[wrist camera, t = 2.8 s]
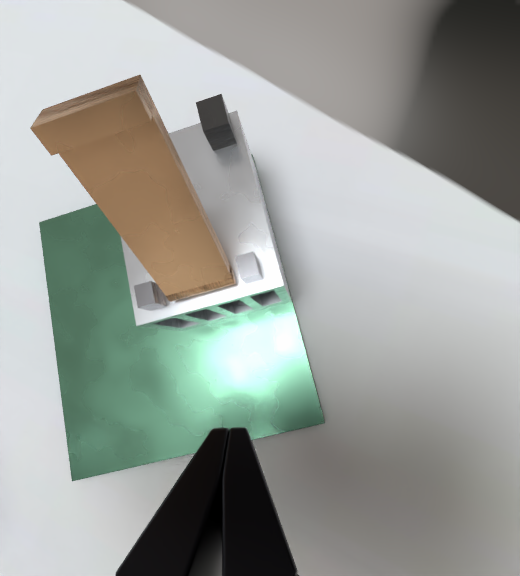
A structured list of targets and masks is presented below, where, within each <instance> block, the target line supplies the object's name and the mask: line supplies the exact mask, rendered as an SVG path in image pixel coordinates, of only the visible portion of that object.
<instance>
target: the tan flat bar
mask: <svg viewBox="0 0 520 576" xmlns="http://www.w3.org/2000/svg"><path fill="white" fill-rule="evenodd" d="M31 130H32V131H33V132H34V134H35V135H36V136H37V137H38V139H39V140H40V141H41V143H42V144H43V145H44V147H45V148H46V149H47V150H48V152H49V153H50V154H51V156H52V155H55V154H57V153H59V155H60V156H61V157H62V159H63V160H64V161H65V163H66V164H67V165H68V167H69V168H70V169H71V171H72V172H73V173H74V175H75V176H76V177H77V178H78V180H79V181H80V182H81V184H82V185H83V186H84V188H85V189H86V190H87V192H88V193H89V194H90V196H91V197H92V198H93V200H94V201H95V202H96V204H97V205H98V206H99V208H100V209H101V210H102V212H103V213H104V214H105V216H106V217H107V218H108V220H109V221H110V222H111V224H112V225H113V226H114V228H115V229H116V230H117V232H118V233H119V234H120V236H121V237H122V238H123V240H124V241H125V242H126V244H127V245H128V246H129V248H130V249H131V250H132V252H133V253H134V254H135V256H136V257H137V258H138V260H139V261H140V262H141V264H142V265H143V266H144V268H145V269H146V270H147V272H148V273H149V274H150V276H151V277H152V278H153V280H154V281H155V282H156V284H157V285H158V286H159V288H160V289H161V290H162V292H163V293H164V294H165V296H166V297H167V299H168V300H169V301H170V302H172V301H176V300H179V299H183V298H186V297H190V296H193V295H197V294H201V293H204V292H208V291H211V290H215V289H218V288H222V287H225V286H229V285H233V284H235V283H236V280H235V275H234V271H233V269H232V266H231V265H230V263H229V261H228V259H227V256H226V254H225V252H224V250H223V248H222V246H221V244H220V242H219V240H218V237H217V235H216V233H215V231H214V229H213V227H212V225H211V223H210V221H209V218H208V216H207V214H206V212H205V210H204V208H203V206H202V204H201V202H200V199H199V197H198V195H197V193H196V191H195V189H194V187H193V185H192V183H191V180H190V178H189V176H188V174H187V172H186V170H185V168H184V166H183V164H182V162H181V159H180V157H179V155H178V153H177V151H176V149H175V147H174V145H173V143H172V140H171V138H170V136H169V134H168V132H167V130H166V128H165V126H164V124H163V121H162V119H161V117H160V115H159V113H158V111H157V109H156V107H155V105H154V102H153V100H152V98H151V96H150V94H149V92H148V90H147V88H146V86H145V83H144V81H143V79H142V77H141V75H138V76H135V77H132V78H129V79H127V80H124V81H121V82H118V83H115V84H113V85H110V86H107V87H104V88H101V89H99V90H96V91H93V92H90V93H87V94H85V95H82V96H79V97H76V98H74V99H71V100H68V101H65V102H62V103H60V104H57V105H54V106H51V107H48V108H46V109H43V110H42V111H41V113H40V114H39V116H38V117H37V119H36V120H35V122H34V123H33V125H32V126H31Z"/></svg>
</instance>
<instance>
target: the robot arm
mask: <svg viewBox="0 0 520 576" xmlns="http://www.w3.org/2000/svg"><path fill="white" fill-rule="evenodd" d="M116 576H299V575H298V574H297V568H296V565H295V562H294V559H293V557H292V554H291V551H290V548H289V545H288V542H287V540H286V537H285V534H284V531H283V528H282V525H281V523H280V520H279V517H278V514H277V511H276V508H275V505H274V503H273V500H272V497H271V494H270V491H269V488H268V486H267V483H266V480H265V477H264V474H263V471H262V468H261V466H260V463H259V460H258V457H257V454H256V451H255V449H254V446H253V443H252V440H251V437H250V434H249V432H248V429H247V428H246V427H232V428H231V429H230V430H229V428H213V429H212V430H211V431H210V432H209V434H208V435H207V437H206V438H205V440H204V441H203V443H202V444H201V446H200V447H199V449H198V450H197V452H196V453H195V455H194V456H193V458H192V459H191V461H190V462H189V464H188V465H187V467H186V468H185V470H184V471H183V473H182V474H181V476H180V477H179V479H178V480H177V482H176V483H175V485H174V486H173V488H172V489H171V491H170V492H169V494H168V495H167V497H166V498H165V500H164V501H163V503H162V504H161V506H160V507H159V509H158V510H157V512H156V513H155V515H154V516H153V518H152V519H151V521H150V522H149V524H148V525H147V527H146V528H145V530H144V531H143V533H142V534H141V536H140V537H139V539H138V540H137V542H136V543H135V545H134V546H133V548H132V549H131V551H130V552H129V554H128V555H127V557H126V558H125V560H124V561H123V563H122V564H121V565H120V567H119V568H118V570H117V571H116Z"/></svg>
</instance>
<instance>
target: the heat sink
mask: <svg viewBox="0 0 520 576" xmlns="http://www.w3.org/2000/svg"><path fill="white" fill-rule="evenodd" d="M196 105H197V109H198V113H199V117H200V121H201V123H199V124H196V125H193V126H190V127H187V128H184V129H181V130H178V131H175V132H172V133H169V136H170V138H171V140H172V143H173V145H174V147H175V149H176V151H177V153H178V155H179V157H180V159H181V162H182V164H183V166H184V168H185V170H186V172H187V174H188V176H189V178H190V180H191V183H192V185H193V187H194V189H195V191H196V193H197V195H198V197H199V199H200V202H201V204H202V206H203V208H204V210H205V212H206V214H207V216H208V218H209V221H210V223H211V225H212V227H213V229H214V231H215V233H216V235H217V237H218V240H219V242H220V244H221V246H222V248H223V250H224V252H225V254H226V256H227V259H228V261H229V263H230V265H231V266H232V269H233V271H234V275H235V280H236V283H235V284H233V285H229V286H225V287H222V288H218V289H215V290H211V291H208V292H204V293H201V294H197V295H193V296H190V297H186V298H183V299H179V300H176V301H172V302H170V301H169V300H168V299H167V297H166V296H165V294H164V293H163V292H162V290H161V289H160V288H159V286H158V285H157V284H156V282H155V281H154V280H153V278H152V277H151V276H150V274H149V273H148V272H147V270H146V269H145V268H144V266H143V265H142V264H141V262H140V261H139V260H138V258H137V257H136V256H135V254H134V253H133V252H132V250H131V249H130V248H129V246H128V245H127V244H126V242H125V241H124V240H123V238H122V237H121V236H120V234H119V233H118V232H117V230H116V229H115V228H114V226H113V225H112V224H111V222H110V221H109V220H108V218H107V217H106V216H105V214H104V213H103V212H102V210H101V209H100V208H99V206H98V205H97V204H95V205H92V206H89V207H86V208H83V209H80V210H77V211H73V212H70V213H67V214H64V215H61V216H58V217H55V218H52V219H49V220H45V221H42V222H39V224H40V232H41V240H42V248H43V256H44V264H45V272H46V280H47V287H48V295H49V303H50V311H51V319H52V327H53V335H54V343H55V351H56V358H57V366H58V374H59V382H60V390H61V398H62V406H63V414H64V421H65V429H66V437H67V445H68V453H69V461H70V469H71V477H72V481H75V480H80V479H84V478H88V477H93V476H97V475H101V474H106V473H110V472H114V471H119V470H123V469H127V468H132V467H136V466H140V465H145V464H149V463H153V462H158V461H162V460H166V459H171V458H175V457H179V456H184V455H188V454H192V453H196V452H197V450H198V449H199V447H200V446H201V444H202V443H203V441H204V440H205V438H206V437H207V435H208V434H209V432H210V431H211V430H212V429H213V428H229V430H230V429H231V428H232V427H246V428H247V429H248V432H249V434H250V437H251V440H253V439H258V438H262V437H266V436H271V435H275V434H279V433H284V432H288V431H292V430H297V429H301V428H305V427H310V426H314V425H318V424H323V423H325V421H324V417H323V413H322V410H321V406H320V402H319V399H318V395H317V391H316V387H315V384H314V380H313V376H312V373H311V369H310V365H309V362H308V358H307V354H306V351H305V347H304V343H303V339H302V336H301V332H300V328H299V325H298V321H297V317H296V314H295V310H294V306H293V303H292V299H291V295H290V292H289V288H288V284H287V280H286V277H285V273H284V269H283V266H282V262H281V258H280V255H279V251H278V247H277V244H276V240H275V236H274V233H273V229H272V225H271V221H270V218H269V214H268V210H267V207H266V203H265V199H264V196H263V192H262V188H261V185H260V181H259V177H258V174H257V170H256V166H255V162H254V159H253V156H252V154H251V152H250V149H249V146H248V143H247V140H246V137H245V134H244V131H243V128H242V125H241V122H240V119H239V116H238V113H237V111H235V112H232V113H228V110H227V108H226V105H225V102H224V100H223V97H222V94H220V95H217V96H214V97H211V98H208V99H205V100H202V101H199V102H196Z"/></svg>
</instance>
